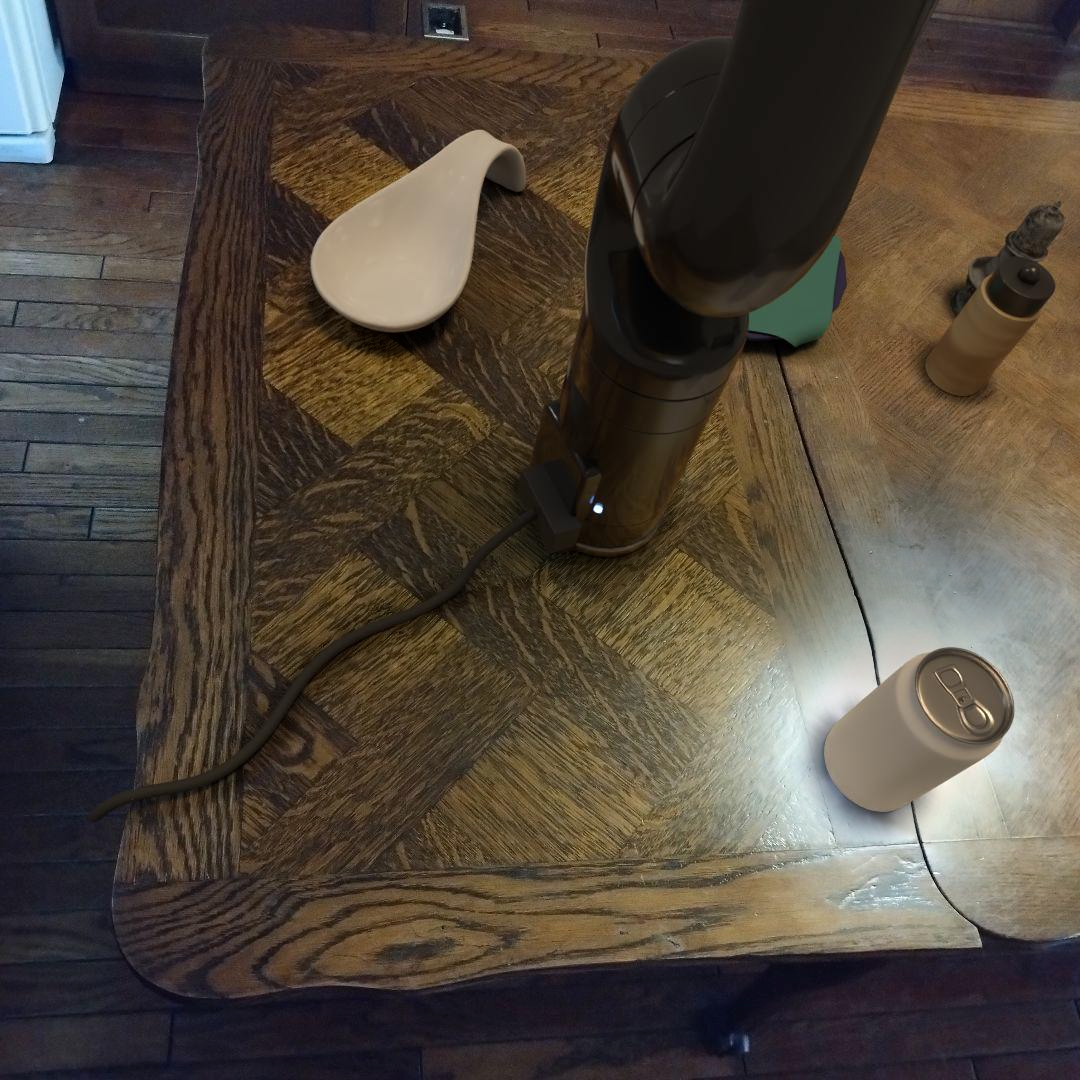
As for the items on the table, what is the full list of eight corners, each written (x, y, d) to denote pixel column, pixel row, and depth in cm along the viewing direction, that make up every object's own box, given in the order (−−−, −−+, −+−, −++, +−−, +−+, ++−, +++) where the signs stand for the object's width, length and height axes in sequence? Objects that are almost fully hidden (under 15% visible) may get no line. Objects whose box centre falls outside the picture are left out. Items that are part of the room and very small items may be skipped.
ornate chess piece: (1013, 341, 86) (1099, 235, 76) (948, 324, 86) (1026, 215, 76) (1009, 294, 89) (1092, 187, 79) (947, 278, 89) (1022, 168, 79)
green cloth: (593, 312, 80) (598, 291, 78) (661, 100, 96) (667, 79, 94) (826, 383, 80) (838, 364, 78) (856, 159, 96) (867, 139, 94)
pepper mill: (947, 402, 81) (1032, 297, 71) (913, 357, 83) (990, 249, 73) (993, 388, 83) (1082, 283, 72) (958, 344, 85) (1039, 236, 75)
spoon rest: (412, 379, 74) (417, 312, 68) (282, 309, 76) (274, 237, 69) (558, 207, 86) (572, 137, 80) (442, 150, 88) (448, 77, 82)
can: (855, 829, 61) (953, 769, 51) (802, 735, 64) (885, 660, 54) (936, 792, 63) (1046, 727, 53) (882, 702, 66) (976, 625, 56)
